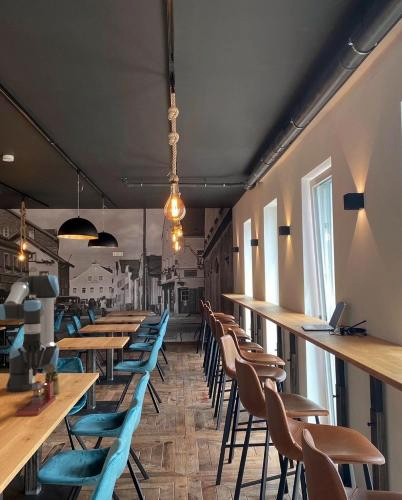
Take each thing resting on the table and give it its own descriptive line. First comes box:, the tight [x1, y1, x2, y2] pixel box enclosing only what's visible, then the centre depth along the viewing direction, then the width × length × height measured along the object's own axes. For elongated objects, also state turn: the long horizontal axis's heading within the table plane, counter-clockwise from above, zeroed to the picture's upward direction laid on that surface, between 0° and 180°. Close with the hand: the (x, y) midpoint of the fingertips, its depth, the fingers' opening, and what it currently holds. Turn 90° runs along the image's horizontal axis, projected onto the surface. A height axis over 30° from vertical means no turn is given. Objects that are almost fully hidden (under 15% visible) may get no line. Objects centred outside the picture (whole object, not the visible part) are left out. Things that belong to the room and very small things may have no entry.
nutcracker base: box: [15, 380, 57, 417], centre depth 210 cm, size 25×10×10 cm, turn 1°
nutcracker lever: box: [22, 383, 46, 391], centre depth 208 cm, size 23×4×2 cm, turn 1°
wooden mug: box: [42, 363, 61, 396], centre depth 232 cm, size 9×14×18 cm, turn 8°
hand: (31, 382), depth 203 cm, fingers closed
